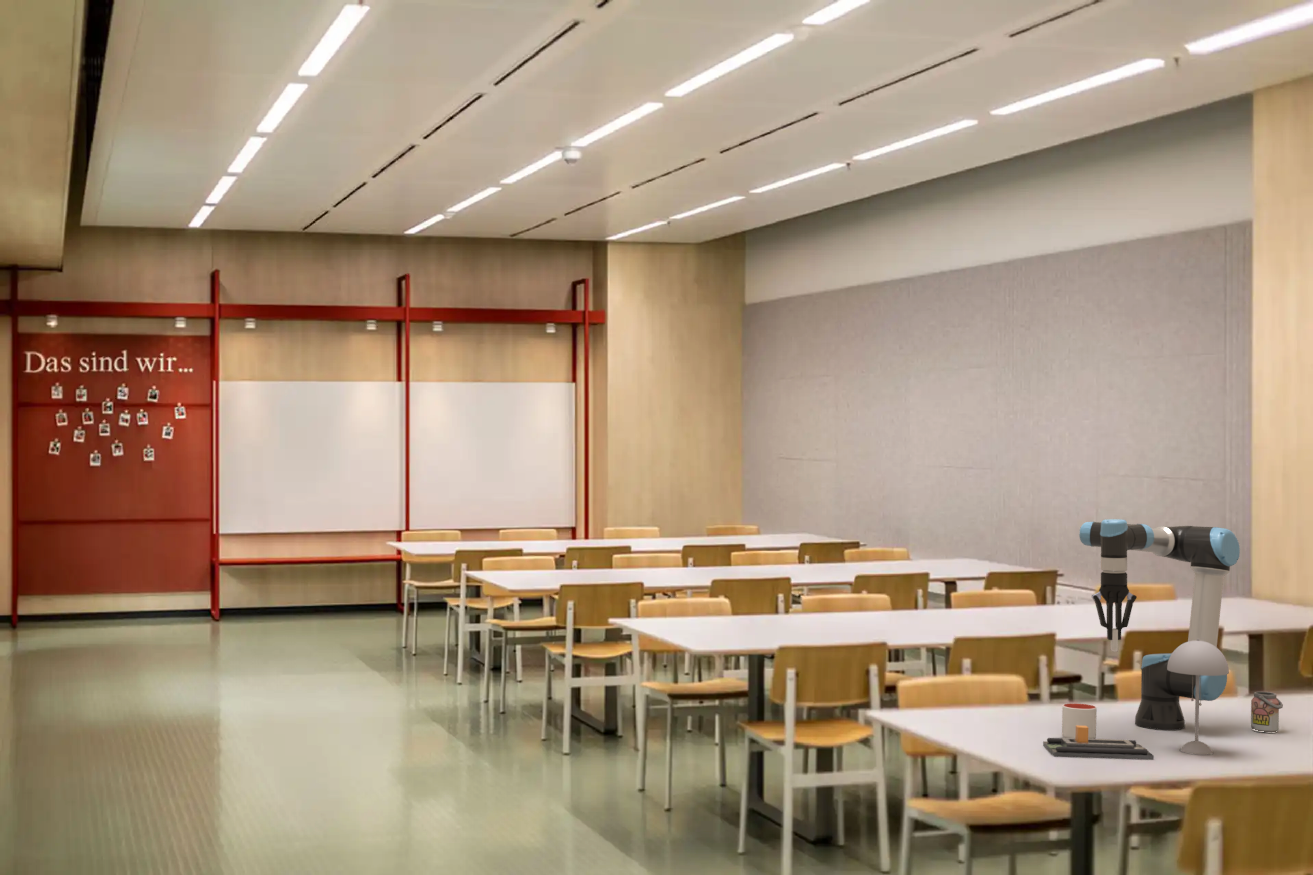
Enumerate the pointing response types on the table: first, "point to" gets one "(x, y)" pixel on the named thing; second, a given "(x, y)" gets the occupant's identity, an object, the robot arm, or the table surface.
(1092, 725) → the cup
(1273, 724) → the paint can
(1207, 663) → the lamp
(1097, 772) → the table surface
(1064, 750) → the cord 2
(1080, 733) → the toggle
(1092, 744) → the panel
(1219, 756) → the table surface
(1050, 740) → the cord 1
